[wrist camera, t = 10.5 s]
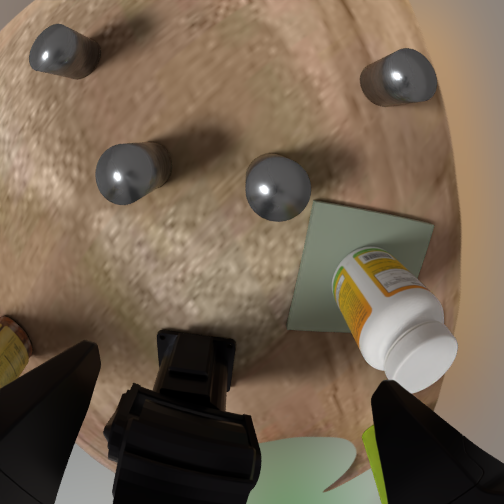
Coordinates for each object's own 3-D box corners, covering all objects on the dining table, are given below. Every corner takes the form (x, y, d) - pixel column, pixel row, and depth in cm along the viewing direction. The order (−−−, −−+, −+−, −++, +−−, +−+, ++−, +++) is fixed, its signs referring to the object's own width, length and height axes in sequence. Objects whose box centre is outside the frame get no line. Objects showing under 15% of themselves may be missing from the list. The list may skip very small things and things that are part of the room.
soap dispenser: (355, 428, 29) (391, 560, 11) (404, 412, 29) (452, 533, 10) (353, 447, 31) (382, 561, 13) (397, 432, 31) (436, 540, 12)
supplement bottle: (356, 320, 21) (403, 413, 12) (315, 280, 20) (359, 382, 11) (406, 276, 20) (476, 353, 11) (371, 229, 19) (454, 302, 10)
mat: (392, 329, 23) (394, 333, 22) (286, 325, 22) (287, 329, 22) (430, 223, 19) (434, 225, 18) (313, 199, 18) (315, 201, 18)
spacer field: (378, 220, 19) (408, 242, 15) (54, 184, 17) (17, 198, 13) (402, -8, 12) (431, -28, 8) (96, -33, 10) (72, -55, 6)
